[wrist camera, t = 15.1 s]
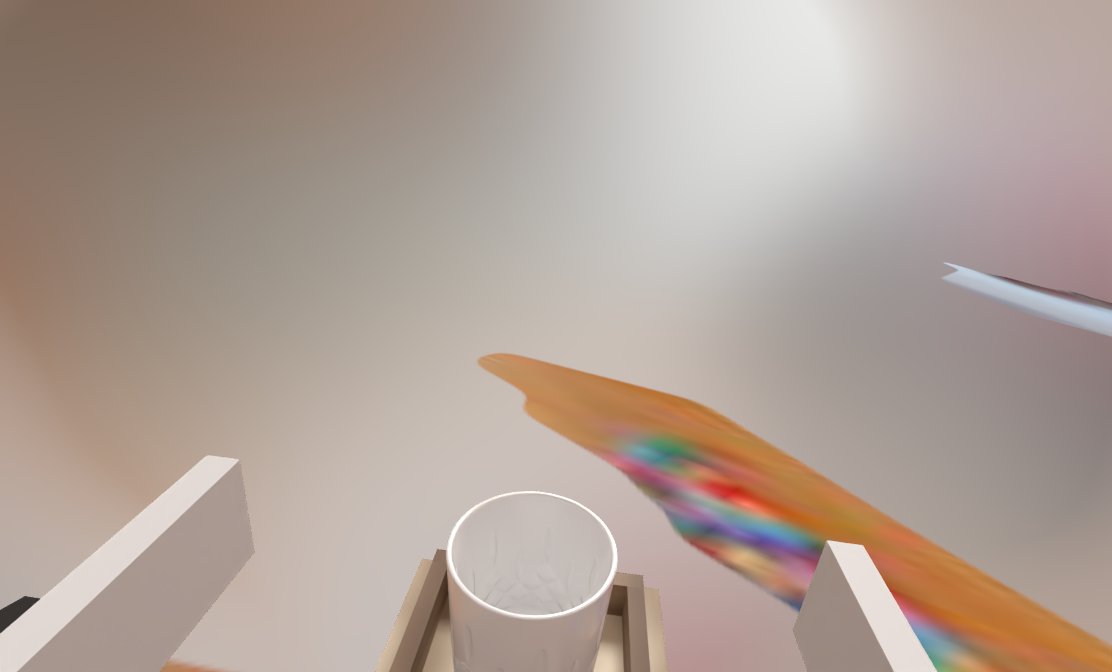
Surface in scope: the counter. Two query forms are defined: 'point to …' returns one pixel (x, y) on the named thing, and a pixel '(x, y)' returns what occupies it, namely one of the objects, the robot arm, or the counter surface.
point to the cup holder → (425, 641)
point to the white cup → (529, 585)
